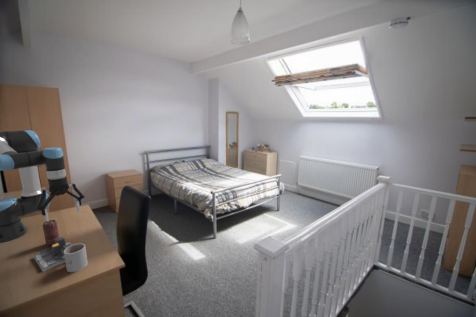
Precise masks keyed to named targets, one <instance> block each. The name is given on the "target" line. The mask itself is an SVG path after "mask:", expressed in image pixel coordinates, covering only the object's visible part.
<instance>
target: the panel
mask: <svg viewBox="0 0 476 317" xmlns="http://www.w3.org/2000/svg"><path fill="white" fill-rule="evenodd" d="M68 244H70V245H73V244H72V242H70V241H68V242H65V245H68ZM32 257H33V259H34V261H35V262H36V264H37V266H38V267H39V269H40V270H41V272H42V273H44V272H45V271H46V272H47V271H48V270H51V269H53V268H55V267H56V266H60V265H62V264H64V263H65V257H64V251H63V248H61V254H59V255H56V256H54V255H53V253H52V248H51V247H48V248H46V249H44V250H41V251H39V252H38V253H36V254H34V255H33V256H32Z"/></svg>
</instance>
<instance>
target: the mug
mask: <svg viewBox="0 0 476 317" xmlns="http://www.w3.org/2000/svg"><path fill="white" fill-rule="evenodd" d="M64 257H65V262H64V263H65V267H66V272H68V273H77V272H79V271H81V270H83V269H85V268H86V267H87V266H88V264H89V263H88V255H87V249H86V244H84V243H75V244H72V245H71V246H69V247H67V248H66V249H65V250H64Z"/></svg>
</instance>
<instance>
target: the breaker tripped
mask: <svg viewBox="0 0 476 317" xmlns="http://www.w3.org/2000/svg"><path fill="white" fill-rule="evenodd" d="M50 248H52V253H53V255H54V256H56V255H59V254H61V248H60V245H59V243H57V244H54V245H52V246H51V247H50Z"/></svg>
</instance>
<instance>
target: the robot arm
mask: <svg viewBox="0 0 476 317" xmlns="http://www.w3.org/2000/svg"><path fill="white" fill-rule="evenodd" d="M41 147H42V146H41V140H40V138H39V136H38V135H37V133H36V131H34V130H27V129H26V130H25V129H22V130H8V131H4V130H3V131H0V171H1V172H3V171H12V170H17V169H18V172H19V177H20V182H21V186H22V193H20V197H19V198H17V197H15V196H10V197H5V198H2V199H0V243H3V242H8V241H12V240H15V239H17V238H20V237H22V236H24V235H25V234H27V232H28V228H27V227H26V225H25V223H24V222H23V221H22V219H21V217H25V216H28V215H32V214H35V213H39V212H41V215H42V217H44V218H45V219H44V220H45V222H48V221H50V218H49V213H48V209H49V207H50V204H51V201H52V200H53V199H54V198H55V197H56V196H57V197H58V196H61V195H62V196H63V195H65V194H67V195H69V196H71V197H73V198H74V199H75V206H76V211H77V212H78V213H81V206H82V200H83V199H85V195H83V193H82V192H81V191H80V189H78V188H77V186H76V184H75V183H74V182H72V183H71V184H69V182H68V178H67V172H66V164H65V159H64V152H63V149H62V148H61V147H46V148H43V149H41V150H38V149H39V148H41ZM39 166H45V171H46V177H47V182H48V188H46V189H43V188H42V187H41V181H40V176H39V174H40V173H39V169H38V167H39ZM70 188H71V189H73V191H74V192H75V193H76V194H77V195H79V196H77V195H76V194H74V193H72V192H70V191H69V189H70ZM48 192H49V193H50V194H49V193H48Z"/></svg>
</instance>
